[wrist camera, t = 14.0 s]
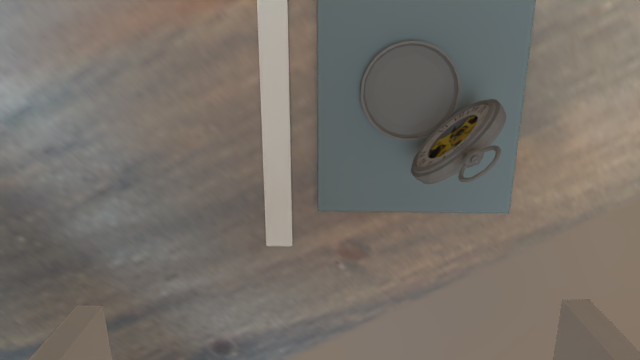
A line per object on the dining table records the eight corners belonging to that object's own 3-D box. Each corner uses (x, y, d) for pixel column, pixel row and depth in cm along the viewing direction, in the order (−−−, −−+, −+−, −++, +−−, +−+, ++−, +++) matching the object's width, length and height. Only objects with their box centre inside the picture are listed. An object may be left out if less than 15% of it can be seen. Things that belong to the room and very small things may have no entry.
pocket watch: (373, 30, 32) (388, 32, 23) (496, 58, 32) (561, 72, 23) (344, 147, 35) (347, 194, 25) (459, 172, 35) (505, 228, 25)
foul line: (266, 244, 38) (266, 245, 37) (255, -72, 31) (254, -72, 31) (292, 244, 38) (292, 246, 37) (286, -72, 31) (285, -73, 31)
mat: (318, 208, 37) (318, 211, 36) (318, -21, 32) (317, -22, 31) (506, 210, 36) (508, 213, 36) (535, -22, 31) (538, -23, 31)
